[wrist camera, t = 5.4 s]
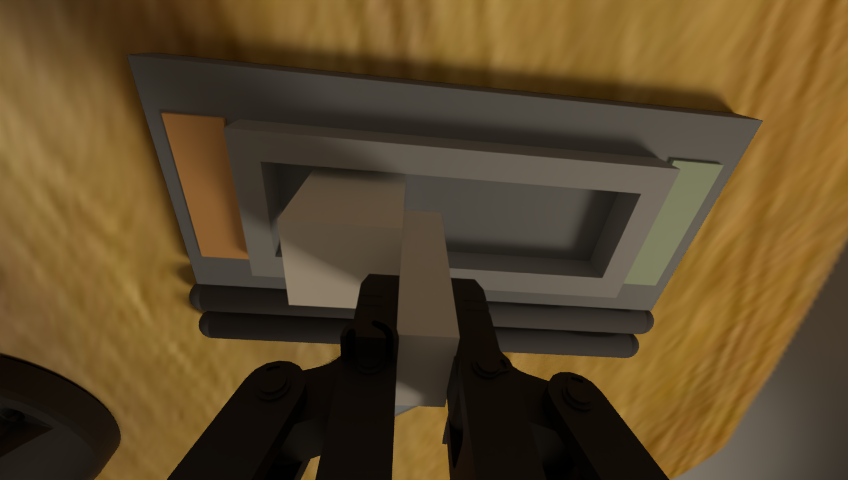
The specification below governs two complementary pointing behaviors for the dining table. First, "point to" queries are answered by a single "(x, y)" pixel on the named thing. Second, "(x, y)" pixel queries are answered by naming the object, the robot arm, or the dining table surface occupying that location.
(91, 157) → the dining table surface
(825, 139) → the dining table surface
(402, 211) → the block
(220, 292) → the cord
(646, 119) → the panel
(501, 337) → the dark grey rod
